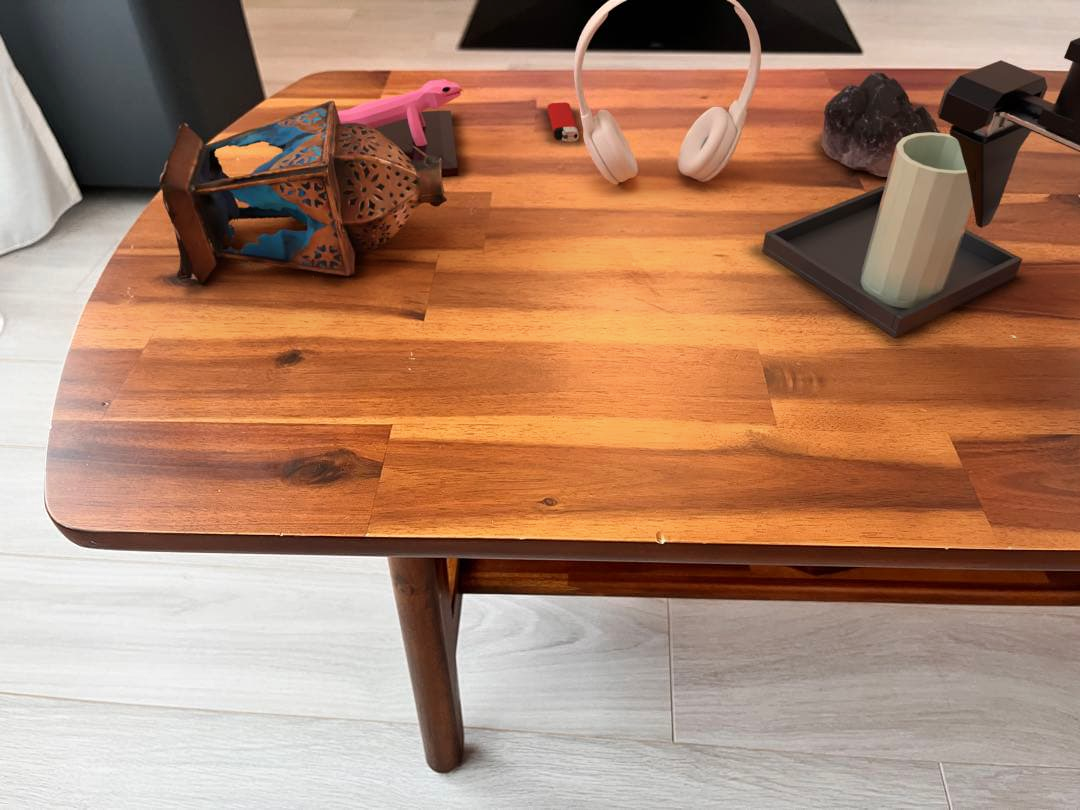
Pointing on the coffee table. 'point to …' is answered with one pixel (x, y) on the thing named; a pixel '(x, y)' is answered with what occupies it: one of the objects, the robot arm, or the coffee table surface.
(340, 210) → the lantern
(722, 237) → the coffee table surface
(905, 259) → the tumbler
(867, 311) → the tray
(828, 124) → the crystal cluster
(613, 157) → the headphones
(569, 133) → the lighter
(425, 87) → the lizard figurine
